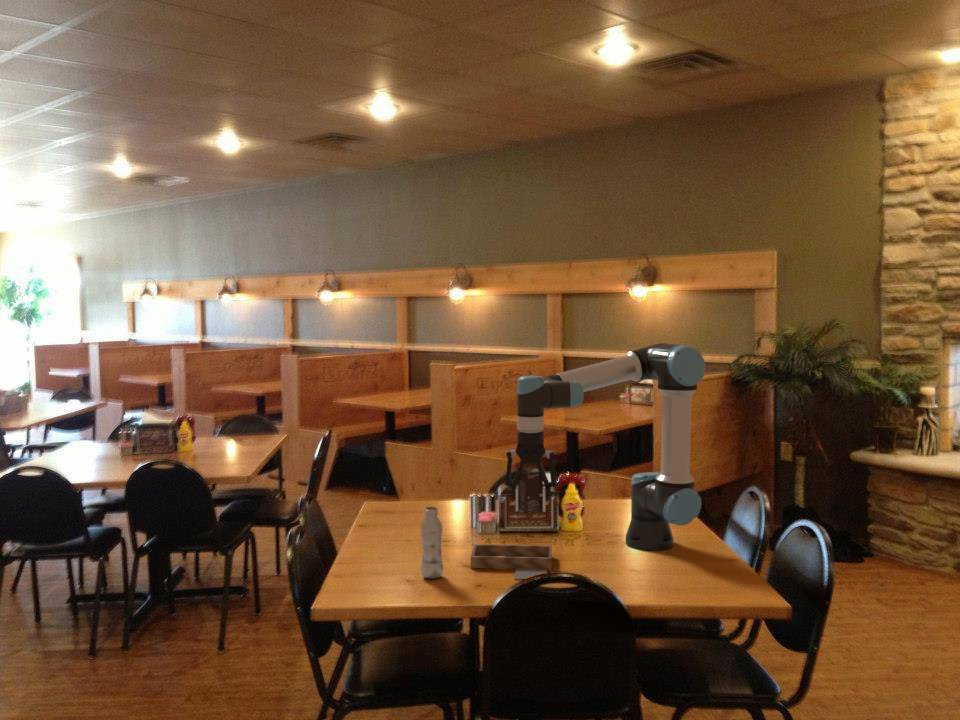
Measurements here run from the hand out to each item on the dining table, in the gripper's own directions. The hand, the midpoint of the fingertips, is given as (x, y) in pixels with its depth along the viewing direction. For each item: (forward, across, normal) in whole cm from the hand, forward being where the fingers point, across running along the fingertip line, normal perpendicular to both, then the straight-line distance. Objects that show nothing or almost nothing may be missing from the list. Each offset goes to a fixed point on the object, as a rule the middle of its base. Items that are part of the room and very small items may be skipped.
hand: (530, 510), depth 248 cm
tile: (+19, 0, 0) cm, 19 cm away
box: (+1, 0, 0) cm, 1 cm away
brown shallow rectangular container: (+19, +6, -11) cm, 23 cm away
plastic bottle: (+19, +28, +4) cm, 34 cm away
